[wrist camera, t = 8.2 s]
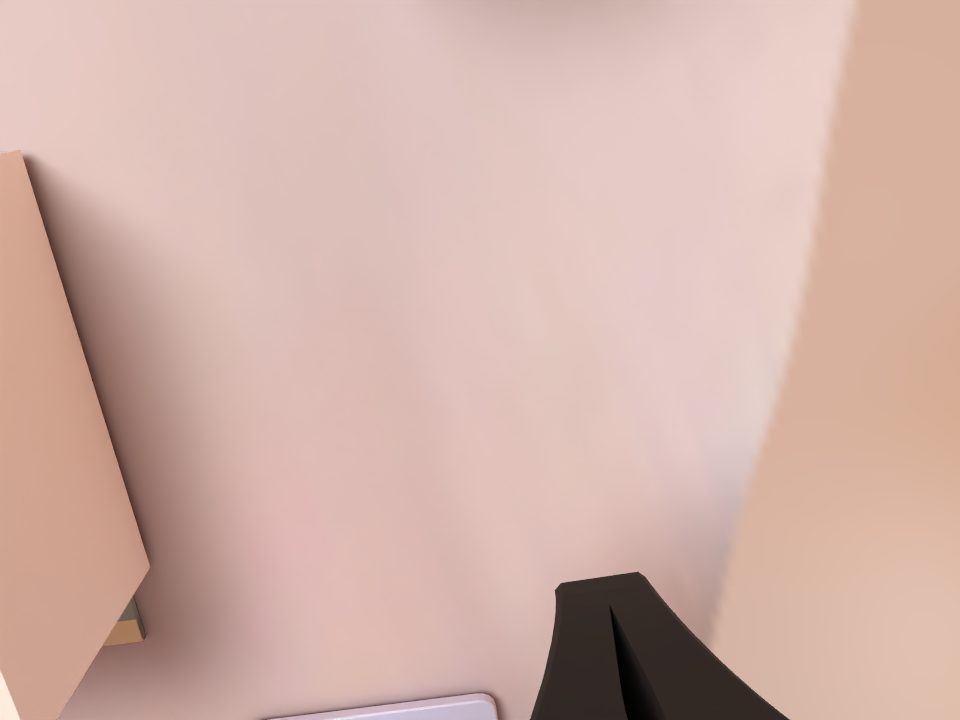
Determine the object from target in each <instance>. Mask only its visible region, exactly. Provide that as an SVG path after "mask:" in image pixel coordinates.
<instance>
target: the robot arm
mask: <svg viewBox="0 0 960 720" xmlns="http://www.w3.org/2000/svg"><path fill="white" fill-rule="evenodd" d="M555 595H556V614H555V624H554V630H553V636H552V642H551V647H550V651H549V656H548V660H547V664H546V669H545V673H544V677H543V680H542V684H541V687H540V690H539V693H538V697H537V700H536V703H535V706H534V709H533V712H532V716H531V719H530V720H789V719H788V718H787V717H785V716H784V715H783V714H781V713H780V712H779V711H778V710H776V709H775V708H774V707H773V706H771V705H770V704H769V703H768V702H766V701H765V700H764V699H763V698H761V697H760V696H759V695H758V694H757V693H756V692H754V691H753V690H752V689H751V688H750V687H749V686H747V685H746V684H745V683H744V682H743V681H742V680H741V679H740V678H739V677H737V676H736V675H735V674H734V673H733V672H732V671H731V670H730V669H728V667H726V666H725V665H724V664H723V663H722V662H721V661H720V660H719V659H718V658H717V657H716V656H715V655H714V654H713V653H712V652H711V651H710V650H709V649H708V648H707V647H706V646H705V645H704V644H703V643H702V642H701V641H700V640H699V639H698V638H697V637H696V636H695V635H694V634H693V633H692V632H691V631H690V630H689V629H688V628H687V626H686V625H685V624H684V623H683V622H682V621H681V620H680V619H679V618H678V617H677V615H676V614H675V613H674V612H673V611H672V610H671V609H670V608H669V606H668V605H667V604H666V603H665V602H664V600H663V599H662V598H661V597H660V596H659V594H658V593H657V592H656V591H655V589H654V588H653V587H652V585H651V584H650V583H649V581H648V580H647V579H646V577H644V576H643V575H642V574H640V573H639V572H633V573H627V574H620V575H613V576H606V577H600V578H593V579H586V580H579V581H572V582H566V583H561V584H560V585H559V586H558V587H557V589H556V590H555ZM269 720H498V717H497V710H496V704H495V702H494V699H493V698H492V697H490V696H489V695H487V694H484V693H476V694H468V695H460V696H452V697H444V698H436V699H428V700H420V701H412V702H404V703H396V704H388V705H380V706H372V707H364V708H356V709H349V710H341V711H333V712H325V713H317V714H309V715H301V716H293V717H285V718H277V719H269Z"/></svg>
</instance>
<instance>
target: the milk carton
mask: <svg viewBox="0 0 960 720" xmlns="http://www.w3.org/2000/svg"><path fill="white" fill-rule="evenodd" d="M149 569H150V565H149V562H148V558H147V555H146V552H145V549H144V545H143V542H142V539H141V536H140V533H139V529H138V526H137V523H136V520H135V517H134V513H133V510H132V507H131V504H130V501H129V497H128V494H127V491H126V488H125V484H124V481H123V478H122V475H121V472H120V468H119V465H118V462H117V459H116V456H115V452H114V449H113V446H112V443H111V440H110V436H109V433H108V430H107V427H106V423H105V420H104V417H103V414H102V411H101V407H100V404H99V401H98V398H97V395H96V391H95V388H94V385H93V382H92V379H91V375H90V372H89V369H88V366H87V362H86V359H85V356H84V353H83V350H82V346H81V343H80V340H79V337H78V334H77V330H76V327H75V324H74V321H73V318H72V314H71V311H70V308H69V305H68V301H67V298H66V295H65V292H64V289H63V285H62V282H61V279H60V276H59V273H58V269H57V266H56V263H55V260H54V257H53V253H52V250H51V247H50V244H49V240H48V237H47V234H46V231H45V228H44V224H43V221H42V218H41V215H40V212H39V208H38V205H37V202H36V199H35V196H34V192H33V189H32V186H31V183H30V179H29V176H28V173H27V170H26V167H25V163H24V160H23V157H22V154H21V151H20V150H17V151H10V152H3V153H0V720H57V719H58V717H59V715H60V714H61V712H62V711H63V709H64V707H65V706H66V704H67V702H68V701H69V699H70V698H71V696H72V694H73V693H74V691H75V689H76V688H77V686H78V684H79V683H80V681H81V680H82V678H83V676H84V675H85V673H86V671H87V670H88V668H89V667H90V665H91V663H92V662H93V660H94V658H95V657H96V655H97V654H98V652H99V650H100V649H101V647H102V645H103V644H104V642H105V640H106V639H107V637H108V636H109V634H110V632H111V631H112V629H113V627H114V626H115V624H116V623H117V621H118V619H119V618H120V616H121V614H122V613H123V611H124V609H125V608H126V606H127V605H128V603H129V601H130V600H131V598H132V596H133V595H134V593H135V592H136V590H137V588H138V587H139V585H140V583H141V582H142V580H143V578H144V577H145V575H146V574H147V572H148V570H149Z"/></svg>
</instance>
